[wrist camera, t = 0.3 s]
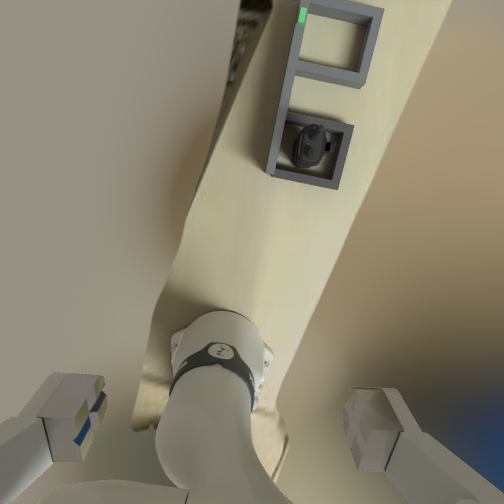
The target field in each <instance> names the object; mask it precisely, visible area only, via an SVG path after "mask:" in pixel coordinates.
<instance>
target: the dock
mask: <svg viewBox="0 0 504 504" xmlns="http://www.w3.org/2000/svg"><path fill="white" fill-rule="evenodd" d="M308 13H310V14H314V15H319V16H323V17H328V18H333V19H337V20H342V21H346V22H351V23H355V24H360V25H365V26H367V28H366V32H365V36H364V40H363V44H362V48H361V52H360V56H359V60H358V64H357V68H356V72H352V71H348V70H343V69H338V68H334V67H329V66H324V65H320V64H315V63H310V62H306V61H301V60H298V57H299V52H300V48H301V43H302V38H303V33H304V28H305V24H306V19H307V14H308ZM383 13H384V9H383V8H379V7H374V6H370V5H365V4H361V3H356V2H352V1H347V0H300V2H299V6H298V11H297V16H296V21H295V26H294V31H293V36H292V41H291V46H290V51H289V56H288V61H287V66H286V71H285V76H284V81H283V86H282V91H281V96H280V101H279V106H278V111H277V116H276V121H275V126H274V130H273V135H272V140H271V145H270V150H269V155H268V160H267V165H266V170H265V173H266V174H271V175H273V174H274V172H275V168H276V163H277V158H278V153H279V148H280V144H281V139H282V134H283V129H284V124H285V120H286V115H287V110H288V105H289V100H290V96H291V91H292V86H293V81H294V76H300V77H305V78H310V79H314V80H319V81H324V82H328V83H333V84H338V85H342V86H347V87H352V88H356V89H360V88H361V87H362V86H363V85H364V84H365V82H366V78H367V75H368V71H369V67H370V63H371V59H372V55H373V51H374V47H375V44H376V40H377V36H378V32H379V28H380V24H381V20H382V16H383Z"/></svg>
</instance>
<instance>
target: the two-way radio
mask: <svg viewBox="0 0 504 504" xmlns="http://www.w3.org/2000/svg"><path fill="white" fill-rule="evenodd" d="M335 145H336V144H335V142H327V138H326V133H325V129H324V126H323V125H319V126H318V125H317V124H310V125H308V126H306V127H304V128H303V129H302V131H301V132H300V133H299V134H298V135H297V137H296V139H295V141H294V147H293V154H292V162H293V164H294V165H295V166H296V167H298V168H309V167H312V166H316V165H318V164H319V162H320V161H321V159H322V157H323V156H324V154H326V153H333V152H334V150H335Z"/></svg>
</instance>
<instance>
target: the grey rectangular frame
mask: <svg viewBox="0 0 504 504" xmlns="http://www.w3.org/2000/svg"><path fill="white" fill-rule="evenodd" d="M285 123H286V124H291V125H296V126H300V127H306V126H308V125H310V124H317V125H318V126H319V125H323V126H324V129H325V132H329V133H334V134H339V135H340V136H339V140H338V144H337V148H336V152H335V156H334V160H333V164H332V168H331V172H330V176H329V180H328V179H324V178H319V177H314V176H309V175H304V174H299V173H294V172H289V171H284V170H280V169H275V172H274V174H273V175H272V177H276V178H281V179H286V180H291V181H296V182H301V183H305V184H310V185H315V186H320V187H325V188H330V189H336V190H338V187H339V183H340V179H341V175H342V172H343V168H344V164H345V160H346V156H347V152H348V148H349V144H350V140H351V137H352V133H353V129H354V125H350V124H346V123H341V122H336V121H331V120H327V119H322V118H317V117H312V116H308V115H303V114H298V113H293V112H288V111H287V115H286V120H285Z"/></svg>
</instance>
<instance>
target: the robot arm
mask: <svg viewBox="0 0 504 504" xmlns="http://www.w3.org/2000/svg"><path fill="white" fill-rule="evenodd" d="M176 344H178V345H176ZM171 353H172V361H171V364H172V368H173V380H172V383H171V388H170V392H169V400H168V402H167V405H166V407H165V410H164V412H163V415H162V417H161V420H160V422H159V425H158V427H157V431H156V440H155V441H156V442H155V443H156V451H157V455H158V458H159V461H160V463H161V465H162V467H163V469H164V471H165V473H166V475H167V476H168V478H169V479H170V480H171V481H172V482H173V483H174V484H175V485H176V486H178V487H179V488H173V487H167V486H160V485H153V484H146V483H138V482H131V481H124V480H103V481H91V482H82V483H74V484H67V485H60V486H58V487H56V488H54V489H53V490H51V491H50V492H49V493H47V494H46V495H45V496H44V497H42V498H41V499H40V500H39V501H38V502H36V503H35V504H293V503H292V502H291V501H290V500H289V499H288V498H287V497H286V496H285V495H284V494H283V493H282V492H281V491H280V489H279V488H278V487H277V486H276V485H275V483H274V482H273V481H272V479H271V478H270V476H269V475H268V474H267V472H266V471H265V469H264V467H263V466H262V464H261V462H260V460H259V458H258V456H257V454H256V452H255V449H254V446H253V441H252V431H251V413H252V410H255V409H256V406H257V403H258V397H257V396H256V394H257V393H261V390H262V385H261V384H262V382H263V380H264V377H265V375H266V373H267V371H268V369H269V367H270V365H271V363H272V361H273V356H274V354H273V352H272V350H271V349H270V348H269V347H268V346H267V345H265V344H264V343H263V341H262V339H261V337H260V335H259V333H258V331H257V329H256V328H255V326H254V325H253V324H252V323H251V322H250V321H249V320H247V319H246V318H245V317H243V316H241V315H239V314H236V313H233V312H229V311H214V312H209V313H206V314H204V315H202V316H200V317H199V318H197V319H196V320H195V321H194V322H192V323H191V324H190V325H189V326H188V327H187V328H185V329H182V330H180V331H177V332H175V333H174V334H173V335H172V337H171ZM265 361H266V362H265ZM104 385H105V382H104V376H101V375H87V374H74V373H73V374H72V373H69V374H68V373H56V372H54V373H52V374H51V375H49V376H48V377H47V379H46V380H45V381H44V383H43V384H42V385H41V386H40V388H39V389H38V390H37V392H36V393H35V394H34V395H33V397H32V398H31V399H30V401H29V402H28V403H27V404H26V406H25V407H24V408H23V410H22V411H21V412H20V413H19V415H18V416H17V417H11V418H9V419H7V420H6V421H4V422H2V423H1V424H0V504H9V503H10V502H12V501H13V500H14V499H15V498H16V497H17V496H18V495H19V494H20V493H21V492H22V491H24V490H25V489H26V488H27V487H28V486H29V485H30V484H31V483H32V482H33V481H34V480H36V479H37V478H38V477H39V476H40V475H41V474H42V473H43V472H44V471H45V470H47V469H48V468H49V467H50V466H51V465H52V464H53V462H83V461H84V458H85V457H86V454H87V452H88V450H89V448H90V446H91V444H92V442H93V435H92V432H94V431H95V430H96V429H97V428H99V427H100V425H101V423H102V421H103V419H104V416H105V412H106V408H107V395H106V394H105V393H104V392H103V391H102V389H103V387H104ZM347 397H348V399H349V402H347V403H346V404H345V405H344V408H343V426H344V430H345V433H346V436H347V437H348V438H349V439H350V440H351V441H352V442H353V443H352V447H351V452H352V455H353V458H354V460H355V463H356V466H357V470H358V471H374V472H385V473H384V474H385V475H386V476H387V477H388V478H389V480H390V481H391V482H392V483H393V484H394V486H395V487H396V488H397V489H398V490H399V491H400V493H401V494H402V495H403V496H404V497H405V498H406V500H407V501H408V502H409V503H410V504H504V494H503V493H502V492H501V491H500V490H498V489H497V488H496V487H495V486H493V485H492V484H491V483H489V482H488V481H487V480H486V479H484V478H483V477H482V476H481V475H479V474H478V473H477V472H476V471H474V470H473V469H472V468H471V467H469V466H468V465H467V464H465V463H464V462H463V461H462V460H460V459H459V458H458V457H457V456H455V455H454V454H452V453H451V452H450V451H449V450H448V449H447V448H445V447H444V446H443V445H441V444H440V443H439V442H438V441H436V440H435V439H434V438H432V437H431V436H430V435H429V434H428V433H422V431H421V430H420V428H419V426H418V424H417V423H416V421H415V419H414V418H413V416H412V414H411V413H410V411H409V409H408V407H407V406H406V404H405V402H404V401H403V399H402V397H401V395H400V394H399V392H398V391H397V390H396V389H393V388H368V387H367V388H366V387H351V388H350V389H349V390H348V394H347Z"/></svg>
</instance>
